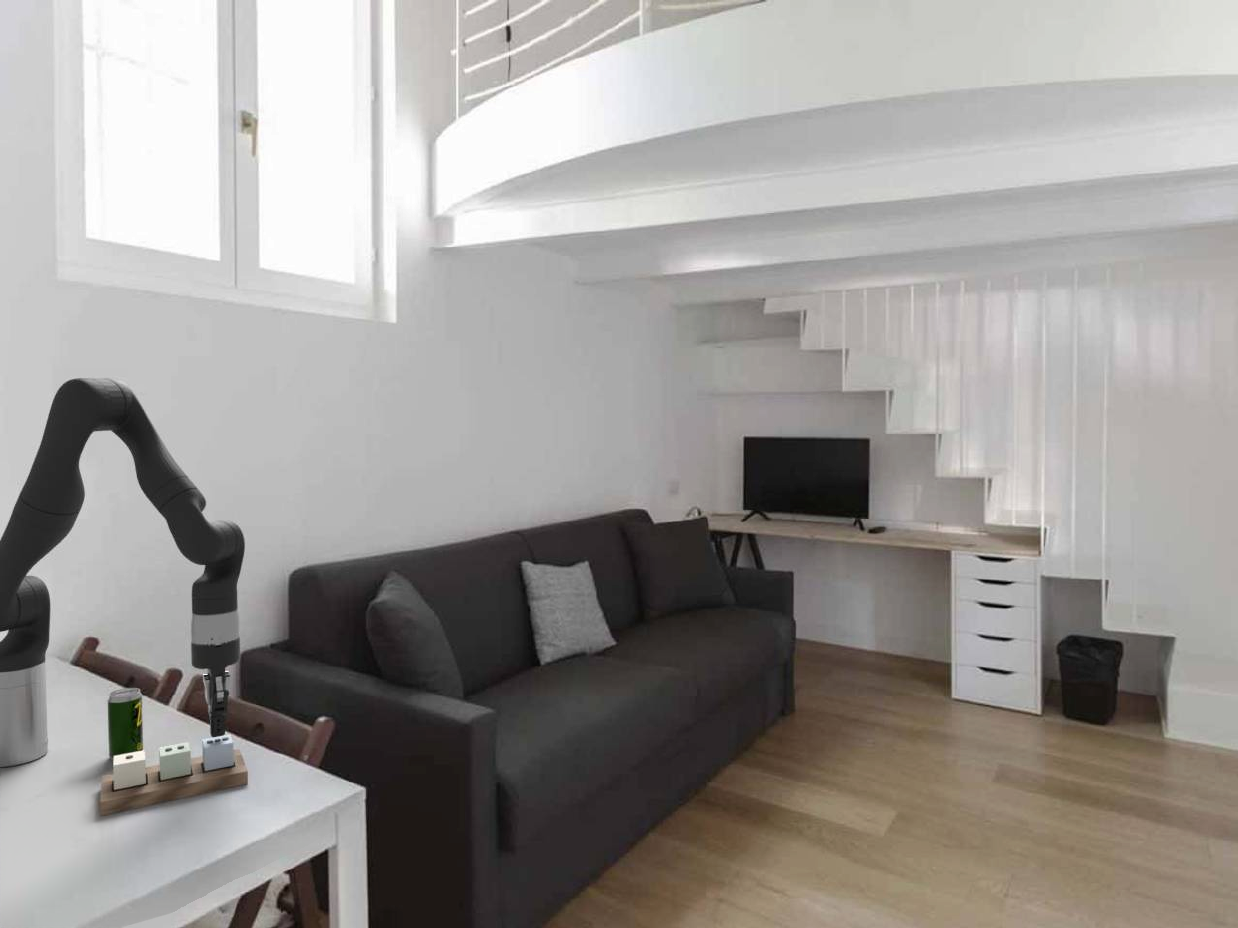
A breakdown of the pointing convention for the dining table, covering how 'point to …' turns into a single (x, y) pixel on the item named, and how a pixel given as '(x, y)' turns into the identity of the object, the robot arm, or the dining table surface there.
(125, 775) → the one dot key
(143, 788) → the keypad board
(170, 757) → the two dot key
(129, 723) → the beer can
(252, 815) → the dining table surface
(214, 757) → the three dot key
